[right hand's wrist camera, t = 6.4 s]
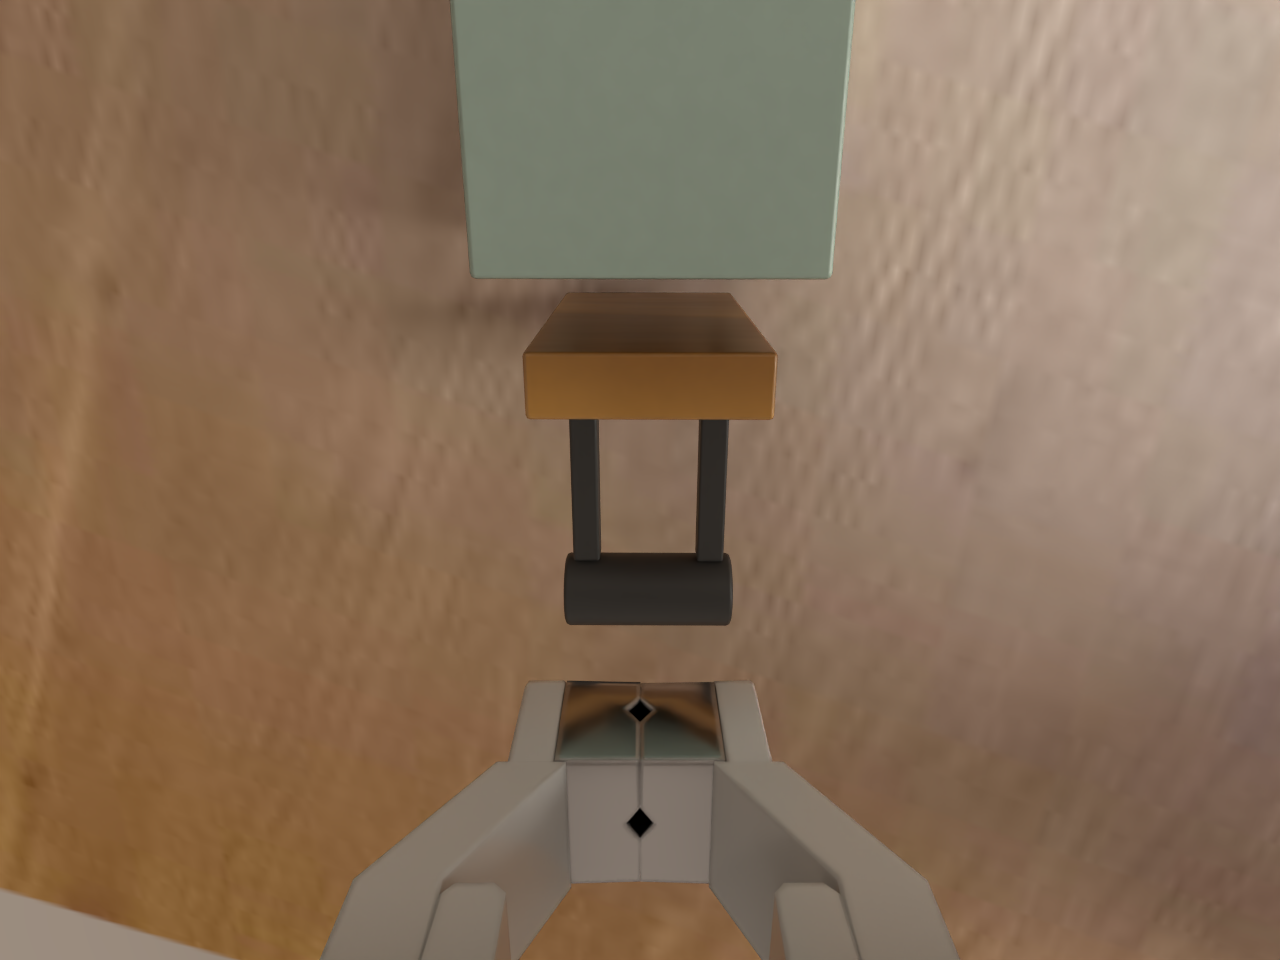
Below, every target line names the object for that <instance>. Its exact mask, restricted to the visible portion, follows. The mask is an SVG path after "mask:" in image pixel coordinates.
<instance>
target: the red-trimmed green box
mask: <svg viewBox="0 0 1280 960" xmlns="http://www.w3.org/2000/svg"><path fill="white" fill-rule="evenodd" d="M450 11H451V24H452V38H453V51H454V65H455V78H456V92H457V105H458V119H459V132H460V146H461V159H462V173H463V186H464V200H465V213H466V227H467V240H468V254H469V267H470V274H471V276H472V277H473V278H476V279H828V278H830V277H831V275H832V271H833V259H834V247H835V235H836V224H837V212H838V200H839V188H840V177H841V165H842V153H843V141H844V129H845V118H846V106H847V94H848V82H849V70H850V59H851V47H852V35H853V23H854V12H855V0H450Z"/></svg>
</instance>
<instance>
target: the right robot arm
mask: <svg viewBox="0 0 1280 960" xmlns="http://www.w3.org/2000/svg"><path fill="white" fill-rule="evenodd" d="M637 881H641V882H676V883H709V887H710V889H711V890H712V892H713V893H714V894H715V896H716V897H717V899H718V900H719V901H720V903H721V904H722V905H723V907H724V908H725V910H726V911H727V912H728V914H729V915H730V916H731V918H732V919H733V921H734V922H735V923H736V925H737V926H738V928H739V929H740V930H741V932H742V933H743V934H744V936H745V937H746V939H747V940H748V941H749V943H750V944H751V945H752V947H753V948H754V950H755V951H756V952H757V954H758V955H759V956H760V958H761V959H762V960H960V958H959V955H958V953H957V951H956V948H955V946H954V943H953V941H952V939H951V936H950V934H949V931H948V929H947V926H946V924H945V922H944V919H943V917H942V914H941V912H940V909H939V907H938V905H937V902H936V900H935V897H934V895H933V893H932V890H931V888H930V885H929V883H928V880H926V879H925V878H924V877H923V876H922V875H920V874H919V873H918V872H917V871H915V870H914V869H913V868H912V867H911V866H909V865H908V864H907V863H906V862H905V861H903V860H902V859H901V858H900V857H898V856H897V855H896V854H895V853H894V852H892V851H891V850H890V849H889V848H888V847H886V846H885V845H884V844H883V843H881V842H880V841H879V840H878V839H877V838H875V837H874V836H873V835H872V834H871V833H869V832H868V831H867V830H866V829H864V828H863V827H862V826H861V825H860V824H858V823H857V822H856V821H855V820H854V819H852V818H851V817H850V816H849V815H847V814H846V813H845V812H844V811H843V810H841V809H840V808H839V807H838V806H837V805H835V804H834V803H833V802H832V801H830V800H829V799H828V798H827V797H826V796H824V795H823V794H822V793H821V792H820V791H818V790H817V789H816V788H815V787H813V786H812V785H811V784H810V783H809V782H807V781H806V780H805V779H804V778H803V777H801V776H800V775H799V774H798V773H796V772H795V771H794V770H793V769H792V768H790V767H789V766H788V765H787V764H786V763H784V762H772V758H771V754H770V750H769V746H768V741H767V737H766V733H765V729H764V724H763V720H762V716H761V711H760V707H759V703H758V699H757V694H756V690H755V686H754V683H753V682H752V681H751V680H739V681H714V682H692V683H640V682H602V681H567V682H565V681H529V682H528V683H527V685H526V686H525V689H524V693H523V698H522V702H521V706H520V711H519V715H518V719H517V724H516V728H515V732H514V737H513V741H512V745H511V750H510V754H509V758H508V762H496V763H495V764H493V765H492V766H491V767H490V768H488V769H487V770H486V771H485V772H484V773H482V774H481V775H480V776H479V777H477V778H476V779H475V780H474V781H473V782H471V783H470V784H469V785H468V786H466V787H465V788H464V789H463V790H462V791H460V792H459V793H458V794H457V795H455V796H454V797H453V798H452V799H451V800H449V801H448V802H447V803H446V804H445V805H443V806H442V807H441V808H440V809H438V810H437V811H436V812H435V813H434V814H432V815H431V816H430V817H429V818H427V819H426V820H425V821H424V822H423V823H421V824H420V825H419V826H418V827H416V828H415V829H414V830H413V831H412V832H410V833H409V834H408V835H407V836H405V837H404V838H403V839H402V840H401V841H399V842H398V843H397V844H396V845H394V846H393V847H392V848H391V849H390V850H388V851H387V852H386V853H385V854H383V855H382V856H381V857H380V858H379V859H377V860H376V861H375V862H374V863H373V864H371V865H370V866H369V867H368V868H366V869H365V870H364V871H363V872H362V873H360V874H359V875H358V876H357V877H355V878H354V879H353V881H352V884H351V886H350V889H349V891H348V893H347V896H346V898H345V900H344V903H343V905H342V908H341V910H340V912H339V915H338V917H337V920H336V922H335V924H334V927H333V929H332V932H331V934H330V936H329V939H328V941H327V943H326V946H325V948H324V951H323V953H322V955H321V958H320V960H519V958H520V957H521V956H522V954H523V953H524V952H525V950H526V949H527V947H528V946H529V945H530V943H531V942H532V941H533V939H534V938H535V936H536V935H537V934H538V932H539V931H540V930H541V928H542V927H543V925H544V924H545V923H546V921H547V920H548V919H549V917H550V916H551V914H552V913H553V912H554V910H555V909H556V908H557V906H558V905H559V903H560V902H561V901H562V899H563V898H564V897H565V895H566V894H567V893H568V891H569V890H570V888H571V883H603V882H637Z"/></svg>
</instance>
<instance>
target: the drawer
mask: <svg viewBox="0 0 1280 960" xmlns="http://www.w3.org/2000/svg"><path fill="white" fill-rule="evenodd" d="M777 361H778V356H777V353H776V352H775V350H774V349H773V348H772V347H771V345H770V344H769V343H768V341H767V340H766V339H765V338H764V336H763V335H762V334H761V332H760V331H759V330H758V329H757V327H756V326H755V325H754V323H753V322H752V321H751V320H750V318H749V317H748V316H747V314H746V313H745V312H744V310H743V309H742V308H741V307H740V305H739V304H738V303H737V301H736V300H735V299H734V298H733V296H732V295H731V294H730V293H567V294H566V295H565V297H564V298H563V300H562V301H561V302H560V304H559V305H558V306H557V308H556V309H555V311H554V312H553V313H552V315H551V316H550V317H549V319H548V320H547V322H546V323H545V324H544V326H543V327H542V328H541V330H540V331H539V333H538V334H537V335H536V337H535V338H534V339H533V341H532V342H531V344H530V345H529V346H528V348H527V349H526V350H525V352H524V353H523V373H524V392H525V411H526V417H527V418H529V419H569V430H570V461H571V491H572V522H573V553H569V554H568V556H567V558H566V563H565V573H564V613H565V619H566V622H567V624H569V625H714V626H726V625H728V624H729V623H730V621H731V616H732V605H733V580H732V567H731V560H730V557H729V555H728V554H726V553H723V549H724V525H725V501H726V478H727V454H728V430H729V420H770V419H773V417H774V409H775V393H776V377H777ZM599 419H664V420H699V441H698V477H697V512H696V547H695V550H696V553H601V519H600V466H599Z"/></svg>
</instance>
